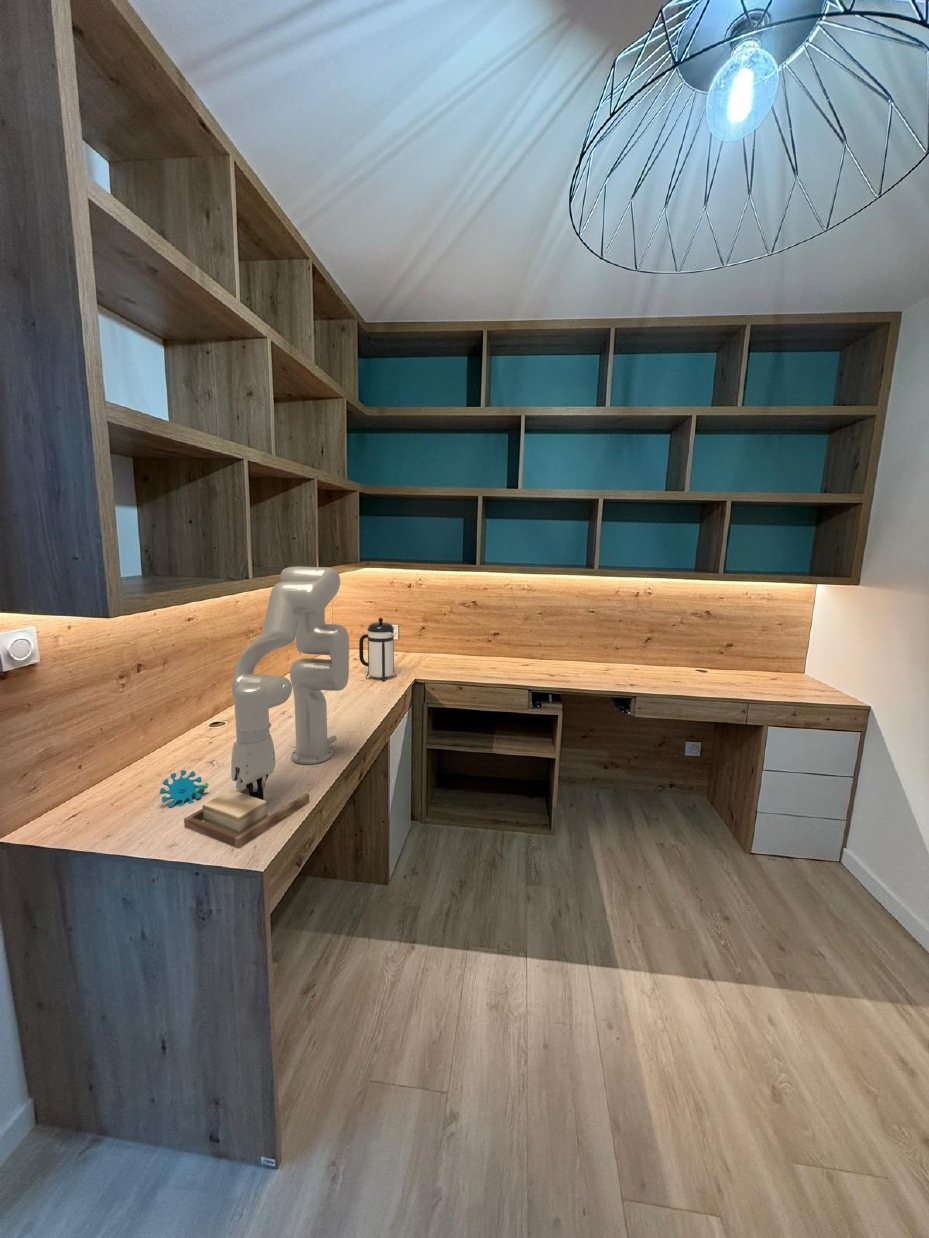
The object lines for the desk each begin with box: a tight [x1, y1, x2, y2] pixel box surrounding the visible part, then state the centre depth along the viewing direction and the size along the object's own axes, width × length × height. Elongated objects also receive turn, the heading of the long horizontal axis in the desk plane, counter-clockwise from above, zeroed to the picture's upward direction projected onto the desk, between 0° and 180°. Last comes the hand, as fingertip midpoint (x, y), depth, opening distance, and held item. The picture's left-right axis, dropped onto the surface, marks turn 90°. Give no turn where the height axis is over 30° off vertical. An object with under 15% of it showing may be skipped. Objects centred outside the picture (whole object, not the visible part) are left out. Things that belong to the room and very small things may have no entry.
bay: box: [183, 789, 310, 849], centre depth 125 cm, size 22×18×3 cm
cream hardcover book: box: [202, 789, 269, 835], centre depth 121 cm, size 8×12×5 cm
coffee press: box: [358, 617, 397, 682], centre depth 247 cm, size 17×16×30 cm
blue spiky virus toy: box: [159, 769, 210, 808], centre depth 132 cm, size 11×6×10 cm
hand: (256, 802), depth 126 cm, fingers closed
